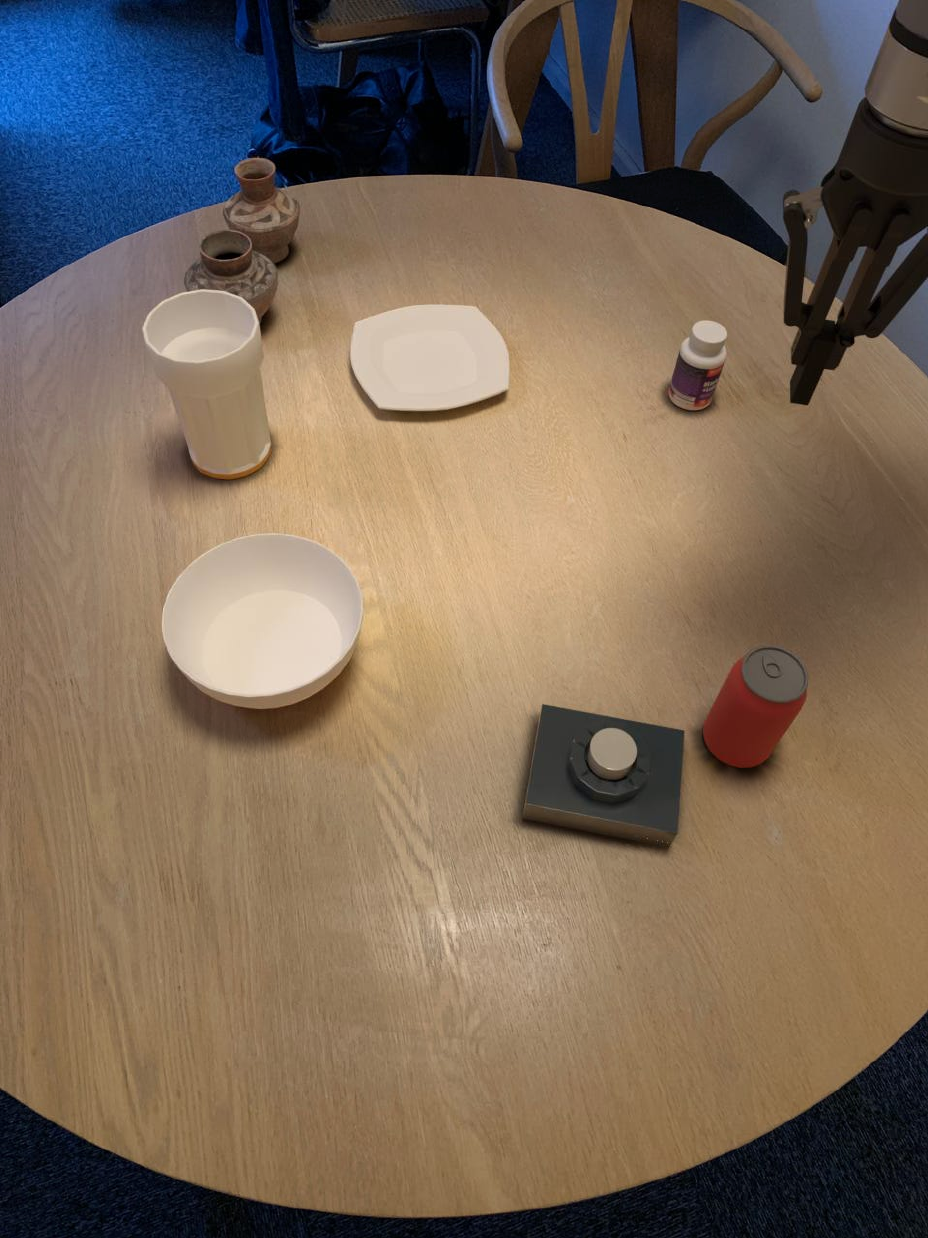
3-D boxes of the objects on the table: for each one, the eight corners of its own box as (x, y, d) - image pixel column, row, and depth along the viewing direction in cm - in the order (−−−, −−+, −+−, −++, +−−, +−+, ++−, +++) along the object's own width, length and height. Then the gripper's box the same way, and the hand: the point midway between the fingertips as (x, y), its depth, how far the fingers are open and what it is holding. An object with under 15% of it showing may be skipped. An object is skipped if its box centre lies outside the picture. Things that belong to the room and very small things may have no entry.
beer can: (755, 702, 90) (796, 633, 80) (782, 763, 86) (828, 699, 76) (690, 714, 89) (723, 646, 79) (715, 776, 85) (753, 713, 75)
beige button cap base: (676, 746, 87) (689, 720, 83) (669, 847, 81) (682, 825, 77) (538, 720, 88) (544, 694, 84) (522, 818, 82) (527, 795, 78)
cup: (163, 474, 104) (120, 348, 89) (205, 406, 110) (172, 279, 96) (258, 497, 102) (230, 373, 88) (296, 427, 109) (276, 300, 94)
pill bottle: (702, 417, 112) (723, 352, 104) (660, 401, 113) (678, 335, 105) (718, 391, 114) (740, 326, 106) (677, 375, 116) (696, 309, 108)
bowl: (406, 656, 91) (405, 614, 85) (255, 773, 84) (242, 736, 78) (289, 548, 98) (280, 503, 92) (141, 648, 91) (120, 605, 85)
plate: (526, 408, 112) (527, 395, 110) (367, 432, 108) (366, 419, 107) (485, 308, 122) (486, 295, 120) (339, 327, 119) (337, 314, 117)
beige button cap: (634, 743, 82) (639, 732, 80) (630, 784, 79) (635, 774, 78) (589, 734, 82) (592, 723, 80) (584, 775, 80) (587, 765, 78)
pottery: (315, 235, 130) (306, 151, 120) (272, 353, 116) (258, 269, 106) (235, 227, 130) (220, 142, 120) (183, 343, 116) (161, 258, 106)
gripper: (818, 125, 58) (719, 411, 77) (1035, 154, 57) (879, 436, 76) (815, 67, 62) (722, 352, 81) (1018, 93, 61) (874, 375, 80)
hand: (798, 393), depth 79 cm, fingers closed
